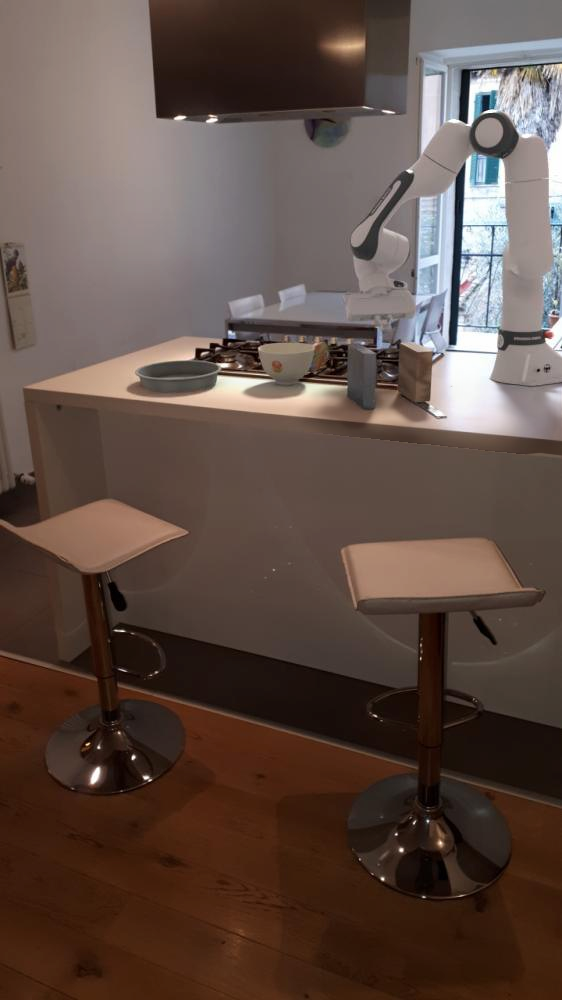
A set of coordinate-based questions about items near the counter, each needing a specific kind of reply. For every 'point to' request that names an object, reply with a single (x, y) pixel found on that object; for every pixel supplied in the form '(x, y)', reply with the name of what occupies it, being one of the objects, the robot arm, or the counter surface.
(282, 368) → the bowl
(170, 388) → the cake pan
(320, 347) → the tin
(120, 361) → the counter surface
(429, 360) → the brown flat angular block
